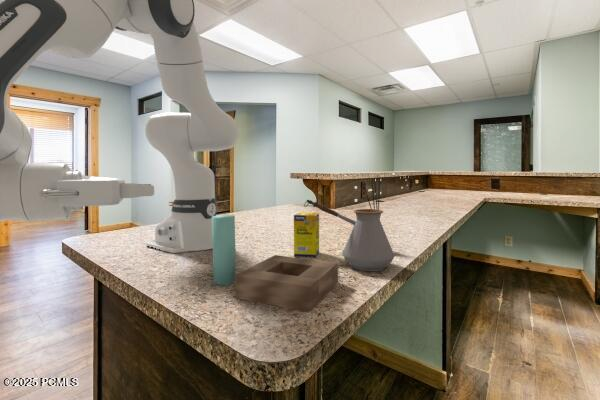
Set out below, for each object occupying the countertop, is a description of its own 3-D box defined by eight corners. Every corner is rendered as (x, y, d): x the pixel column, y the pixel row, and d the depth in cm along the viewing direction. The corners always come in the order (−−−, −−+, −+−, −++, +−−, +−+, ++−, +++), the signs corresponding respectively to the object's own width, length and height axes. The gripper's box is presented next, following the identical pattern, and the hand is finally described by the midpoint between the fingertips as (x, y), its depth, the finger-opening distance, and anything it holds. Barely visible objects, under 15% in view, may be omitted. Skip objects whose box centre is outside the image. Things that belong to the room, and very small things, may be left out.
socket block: (235, 297, 53) (234, 274, 53) (275, 273, 66) (275, 255, 65) (309, 312, 47) (309, 286, 47) (338, 282, 60) (338, 262, 59)
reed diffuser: (381, 255, 79) (382, 178, 78) (355, 252, 83) (356, 178, 81) (390, 247, 88) (391, 177, 87) (366, 244, 92) (367, 177, 90)
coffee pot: (396, 262, 73) (397, 199, 72) (390, 277, 63) (391, 204, 62) (313, 253, 82) (313, 197, 81) (295, 265, 71) (294, 201, 70)
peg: (208, 283, 60) (206, 217, 59) (223, 276, 64) (221, 214, 63) (226, 286, 58) (224, 218, 57) (240, 279, 62) (239, 215, 61)
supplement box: (316, 258, 78) (316, 215, 77) (293, 257, 79) (293, 214, 78) (319, 252, 83) (319, 212, 82) (298, 251, 85) (297, 211, 84)
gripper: (32, 169, 38) (154, 169, 45) (67, 172, 56) (150, 172, 63) (36, 219, 39) (156, 212, 45) (69, 206, 57) (152, 203, 63)
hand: (153, 189), depth 54 cm, fingers open, 8 cm apart
